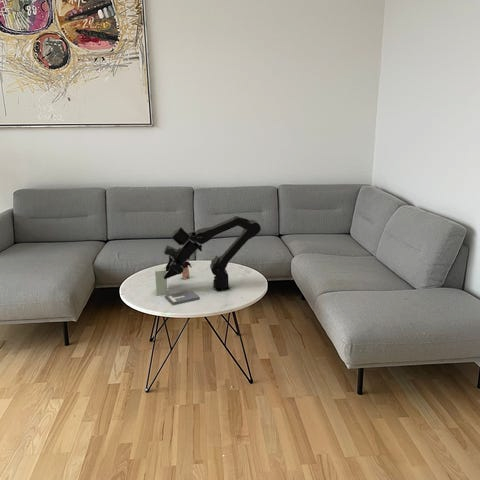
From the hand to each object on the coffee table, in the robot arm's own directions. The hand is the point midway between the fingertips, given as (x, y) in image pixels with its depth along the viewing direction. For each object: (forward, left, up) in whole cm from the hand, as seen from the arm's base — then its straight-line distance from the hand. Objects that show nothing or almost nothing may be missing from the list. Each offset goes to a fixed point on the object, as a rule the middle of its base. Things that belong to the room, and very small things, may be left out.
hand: (164, 275), depth 209 cm
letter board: (-5, +11, -9) cm, 15 cm away
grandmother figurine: (-16, -13, -9) cm, 23 cm away
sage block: (+1, 0, -9) cm, 9 cm away
